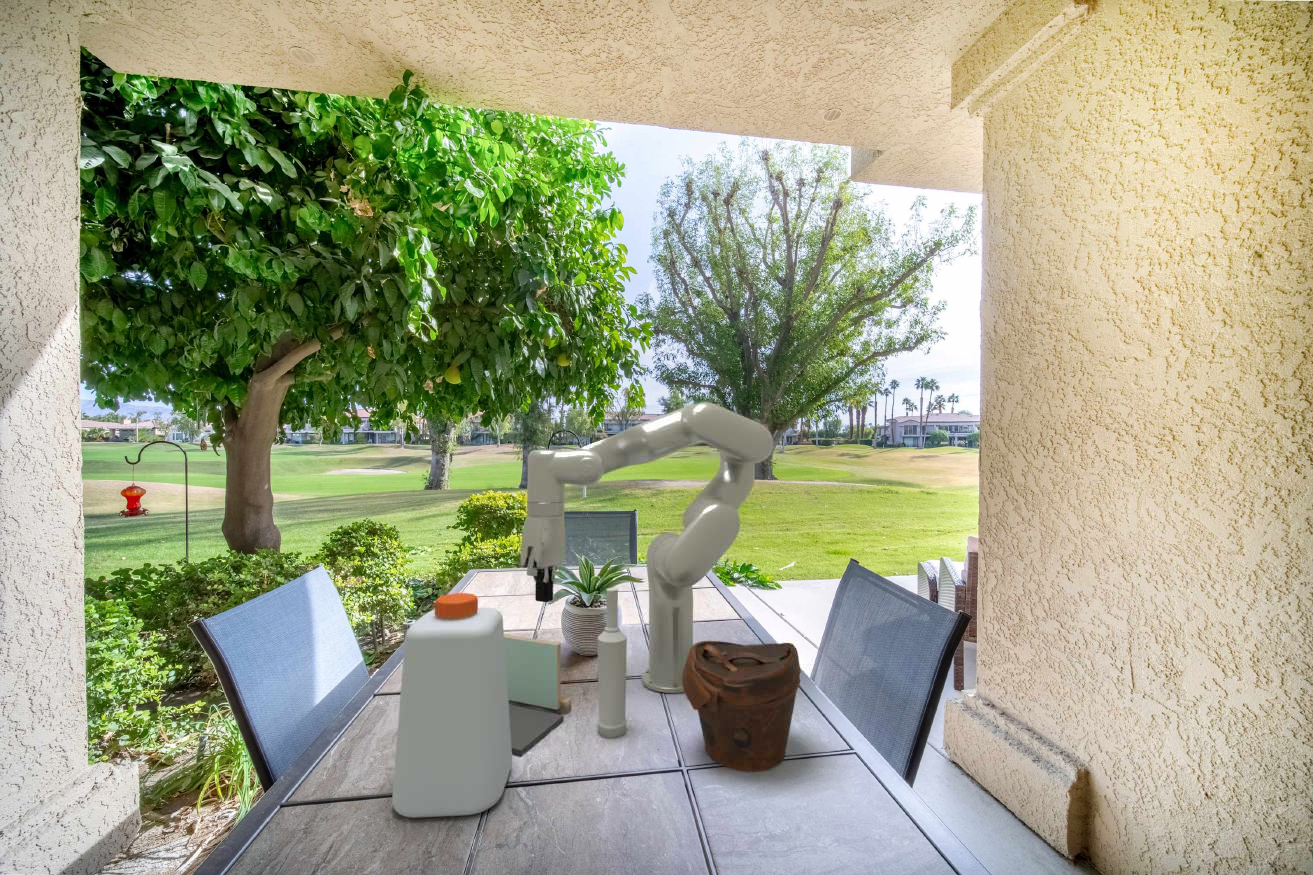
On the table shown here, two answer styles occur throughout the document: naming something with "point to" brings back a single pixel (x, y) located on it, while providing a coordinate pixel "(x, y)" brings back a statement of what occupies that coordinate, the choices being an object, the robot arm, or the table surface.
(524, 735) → the rubber mat
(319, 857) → the table surface
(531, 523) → the robot arm
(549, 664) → the tile
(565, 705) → the tile stand
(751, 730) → the case
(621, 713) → the bottle
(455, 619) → the plastic bottle
